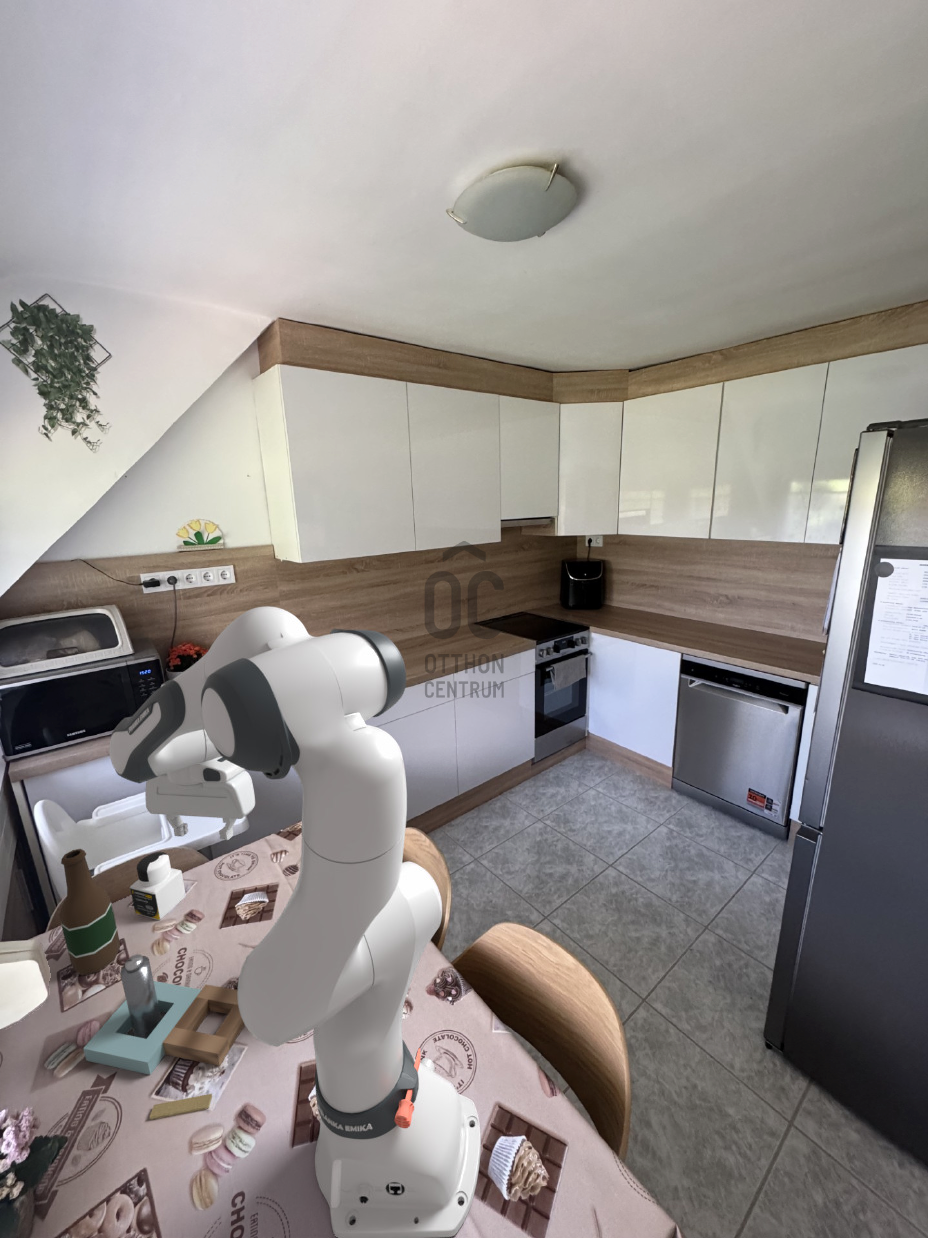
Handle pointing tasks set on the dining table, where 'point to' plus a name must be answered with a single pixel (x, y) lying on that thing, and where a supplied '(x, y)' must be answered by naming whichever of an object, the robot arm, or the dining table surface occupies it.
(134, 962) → the silver metal cylinder
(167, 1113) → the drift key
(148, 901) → the medicine bottle
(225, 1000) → the socket block
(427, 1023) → the dining table surface
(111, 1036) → the block
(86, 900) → the beer bottle
